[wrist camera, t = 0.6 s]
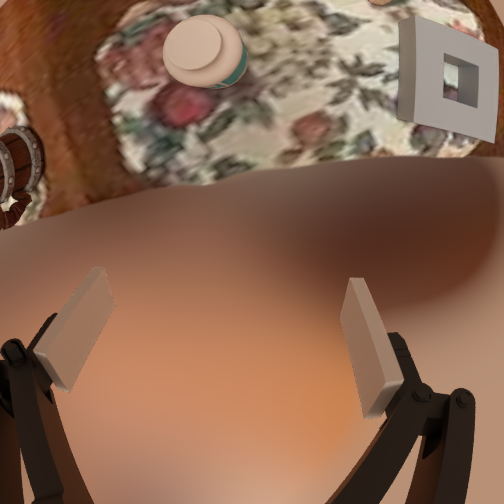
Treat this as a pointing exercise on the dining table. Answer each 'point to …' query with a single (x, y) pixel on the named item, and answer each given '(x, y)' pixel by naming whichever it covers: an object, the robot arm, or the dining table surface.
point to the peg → (379, 2)
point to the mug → (18, 171)
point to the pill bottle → (205, 52)
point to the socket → (432, 73)
